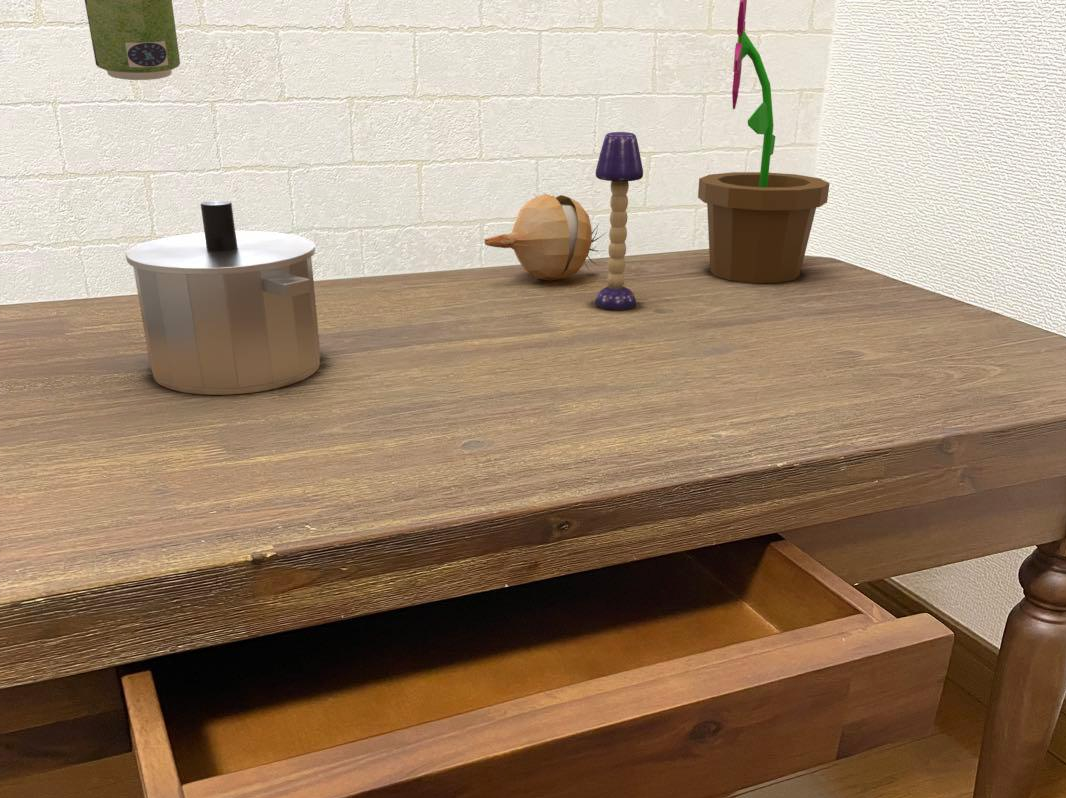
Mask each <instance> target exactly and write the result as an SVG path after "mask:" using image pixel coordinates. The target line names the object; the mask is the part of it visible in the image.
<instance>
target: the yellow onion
mask: <svg viewBox="0 0 1066 798" xmlns="http://www.w3.org/2000/svg"><path fill="white" fill-rule="evenodd" d="M599 224H600V223H598V224H597V225H596V227H595V228H594V229H592V224H591V219H590V215H589V214H588V213H587V212H586V210H585V209H584V207H583V206H582V204H580V203H579V201H577V200H575V199H574V198H571V197H569V196H566V195H562V194H560V195H558V196H555V195H554V193H553V194H552V193H551V194H547V193H544V194H541V195H538V196H537V195H535V197H533V198H531V199H529V200H528V201H527V202H526V203H525V204H524V205H523V206H521V208H520V209H519V211H518V214H517V215H516V218H515V220H514V223H513V227H512V230H511V232H509V233H503V234H499V235H495V236H492V237H488V238H484V239H483V241H484V242H483V243H484V245H485V246H488V247H493V248H500V249H501V248H502V249H512V250H513V251H514V254H515V256H516V259H517V260H518V262H519V263H520V265H521V267H522V269H523V270H524V272H525V271H526V272H527V273H528V275H530V276H532V277H534V278H536V279H539V280H544V281H548V282H553V281H557V280H558V281H559V280H564V279H567V278H569V277H571V276H573V275H574V274H576V273H577V272H578V271H579V270H580V269H581V268H582V267H583V265H585V266H586V268H587V269H588V271H590V269H589V268H588V266H587V264H586V260H587V258H588V259H589V261H590V262H591V263H593V264H594V265H596V266H598V264H597V263H595V262H594V261H593V260H592V259H591V258H590V257H589V254H590V251H592V252H598V250H596V249H595V247H597V246H598V245H597V244H596V245H595V247H593V248H591V246H592V243H594V242H596V241H597V240H599V239H600V238H602V237H603V236H604V235H605V234H606V233H608V231H606V232H605V233H603V234H601V235H600V236H599V237H596V236H597V234H598V231H596V230H599V229H598V228H599ZM595 231H596V232H595ZM594 232H595V234H594ZM593 234H594V236H593ZM604 251H606V249H604V250H602V252H604Z"/></svg>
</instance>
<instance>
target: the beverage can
mask: <svg viewBox="0 0 1066 798" xmlns="http://www.w3.org/2000/svg"><path fill="white" fill-rule="evenodd" d="M84 5H85V10H86V16H87V23H88V28H89V34H90V39H91V45H92V50H93V56H94V61H95V65H96V67H98V68H100V69H101V70H104V71H106V73H107V75H108V76H109V77H112V78H115V79H117V80H118V79H119V80H127V81H129V80H130V81H149V80H159V79H166V78H168V77H170V76H171V75H172V73H173V72H172V70H175V69H177V68H178V67H179V66H180V65H181V57H180V51H179V44H178V37H177V36H178V35H177V29H176V21H175V15H174V13H175V12H174V6H173V0H84Z"/></svg>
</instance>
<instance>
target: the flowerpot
mask: <svg viewBox="0 0 1066 798" xmlns="http://www.w3.org/2000/svg"><path fill="white" fill-rule="evenodd" d="M747 4H748V0H739V4H738V14H737V25H736V34H737V41H736V43H735V46H734V56H733V70H732V71H733V76H732V77H733V79H732V88H731V89H732V91H731V92H732V94H731V95H732V98H731V99H732V110H736V106H737V102H738V98H739V92H740V91H739V89H740V85H741V77H742V64H743V59H745V57H746V56H748V57H749V58H750V60H752V64H753V67H754V69H755V72H756V76H757V77H758V81H759V84H760V86H761V94H762V103H761V104H760V105H759V106H758V107H757V108H756V109H755V111H754V112H753V113H752V114H751V116H750V117H749V118H748V119H747V126H748V127H749V128H750V129H751V130H752V131H753V132H754V133H756V135H763V142H762V150H761V161H760V171H754V172H753V171H752V172H751V171H738V172H737V171H732V172H731V171H730V172H721V173H711V174H710V173H709V174H708V175H707V174H706V175H705V176H702V177H700V178H698V190H697V191H698V192H697V198H698V199H699V200H700V201H702V202H703V203H704V204H706V206H707V207H706V208H707V209H706V210H707V230H708V253H709V272H710V273H711V274H712V275H713V276H714V277H718V278H720V279H725V280H728V281H732V282H733V281H734V282H741V283H748V284H749V283H750V284H777V283H778V284H779V283H784V282H790V281H794V280H796V279H797V278H798V277H799V276H800V275H801V272H802V266H803V264H804V260H805V255H806V251H807V247H808V243H809V240H810V235H811V231H812V228H813V223H814V219H815V215H816V210H817V208H821V207H822V206H824V205H826V204H827V203H828V199H829V192H830V184H831V183H830V182H828V181H826V180H824V179H822V178H820V177H814V176H808V175H803V174H795V173H784V172H783V173H781V172H770V165H771V164H770V163H771V156H772V155H773V154H774V150H775V144H776V135H774V127H775V126H774V112H773V102H772V101H773V99H772V89H771V82H770V80H769V79H770V78H769V76H768V74H767V71H766V68H765V66H764V62H763V60H762V58H761V55H760V54H761V53H759V51H758V50H757V49H756V47H755V45H754V44H753V43H752V41H751V39H750V38H749V36H748V35H747V33H746V14H747Z"/></svg>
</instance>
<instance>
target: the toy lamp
mask: <svg viewBox="0 0 1066 798" xmlns="http://www.w3.org/2000/svg"><path fill="white" fill-rule="evenodd" d="M595 177H596V178H597V179H599V180H602V181H608V182H610V192H611V197H610V201H609V205H610V208H611V210H610V215H609V223H610V228H609V233H608V237H609V240H610V242H609V244H608V255H609V259H608V262H607V269H608V272H609V273H608V274H607V278H606V279H607V281H606V282H607V286H606V287H604V288H602V289H600V291H599V292H598V293H597V295H596V297H595V300H594V304H595V307H597V308H599V309H604V310H608V311H609V310H610V311H627V310H631V309H634V308H635V307H636V306H637V299H636V296H635V295H634V292H633V291H632V290H630V288H628V287H626V286H624V284H625V274H624V271H625V270H626V269H625V268H626V260H625V255H626V253H627V244H626V240H627V237H628V229H627V227H626V225H627V223H628V212H627V209H628V206H629V197H628V195H627V194H628V192H629V189H630V187H629V186H630V184H629V182H635V181H639V180H641V179H643V177H644V169H643V163H642V157H641V152H640V147H639V143H638V139H637V135H636V134H635V133H633V132H628V131H612V132H607V133H606V135H605V136H604V139H603V141H602V145H601V148H600V153H599V155H598V161H597V164H596V169H595Z"/></svg>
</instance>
